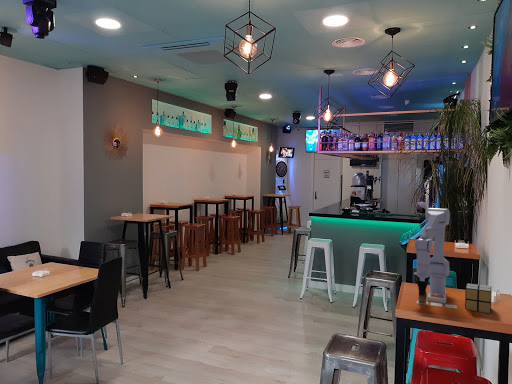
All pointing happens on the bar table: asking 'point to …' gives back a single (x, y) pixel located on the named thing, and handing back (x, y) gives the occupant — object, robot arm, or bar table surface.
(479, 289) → the puzzle cube
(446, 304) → the board
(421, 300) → the pawn
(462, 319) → the bar table surface
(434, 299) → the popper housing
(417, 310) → the bar table surface
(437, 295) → the button
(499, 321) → the bar table surface
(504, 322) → the bar table surface
